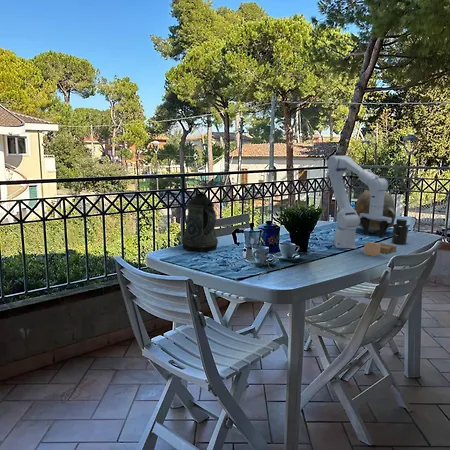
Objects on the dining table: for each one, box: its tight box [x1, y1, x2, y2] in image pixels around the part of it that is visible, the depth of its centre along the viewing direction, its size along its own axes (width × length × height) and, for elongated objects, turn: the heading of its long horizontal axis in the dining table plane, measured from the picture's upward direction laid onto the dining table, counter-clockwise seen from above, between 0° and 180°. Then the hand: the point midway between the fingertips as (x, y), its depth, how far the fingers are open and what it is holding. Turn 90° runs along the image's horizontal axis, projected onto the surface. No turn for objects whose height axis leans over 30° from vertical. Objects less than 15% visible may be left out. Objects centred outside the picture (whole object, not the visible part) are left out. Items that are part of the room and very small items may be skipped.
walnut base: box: [378, 242, 397, 255], centre depth 198 cm, size 8×8×3 cm
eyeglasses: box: [226, 252, 282, 279], centre depth 165 cm, size 16×15×5 cm
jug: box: [353, 188, 397, 233], centre depth 233 cm, size 24×21×30 cm
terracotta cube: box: [363, 241, 381, 257], centre depth 192 cm, size 5×5×5 cm
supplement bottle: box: [391, 218, 409, 245], centre depth 213 cm, size 7×7×12 cm
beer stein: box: [181, 193, 219, 253], centre depth 193 cm, size 16×19×25 cm
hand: (373, 235), depth 190 cm, fingers open, 7 cm apart
